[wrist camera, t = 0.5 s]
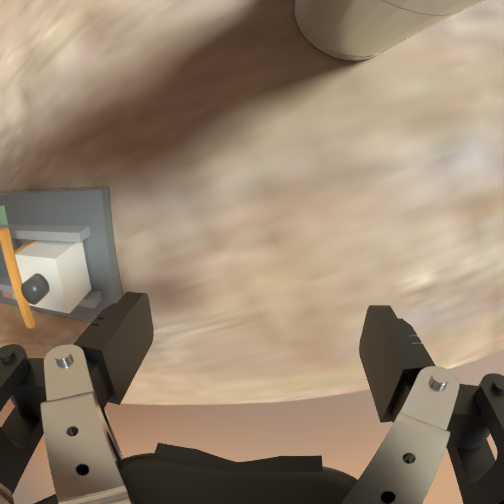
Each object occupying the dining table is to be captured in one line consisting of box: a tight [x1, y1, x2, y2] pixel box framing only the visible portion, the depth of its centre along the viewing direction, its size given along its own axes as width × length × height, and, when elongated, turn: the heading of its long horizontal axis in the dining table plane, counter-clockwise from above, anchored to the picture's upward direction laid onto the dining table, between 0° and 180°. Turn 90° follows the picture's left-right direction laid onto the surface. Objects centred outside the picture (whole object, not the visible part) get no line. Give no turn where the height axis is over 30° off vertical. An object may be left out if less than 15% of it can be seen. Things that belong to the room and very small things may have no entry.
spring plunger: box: [15, 240, 92, 314], centre depth 27 cm, size 6×6×7 cm
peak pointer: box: [0, 228, 36, 328], centre depth 28 cm, size 12×1×5 cm, turn 178°
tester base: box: [0, 187, 123, 322], centre depth 31 cm, size 16×24×4 cm, turn 88°
